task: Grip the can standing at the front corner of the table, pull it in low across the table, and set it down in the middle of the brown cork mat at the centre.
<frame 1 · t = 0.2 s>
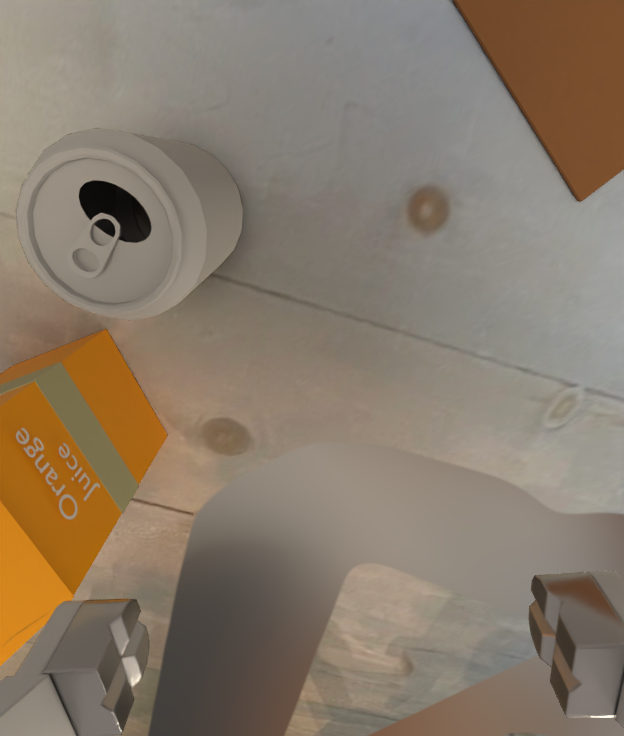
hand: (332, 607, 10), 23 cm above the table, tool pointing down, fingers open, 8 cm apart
can: (184, 210, 29), on the table
orange juice: (93, 400, 34), on the table
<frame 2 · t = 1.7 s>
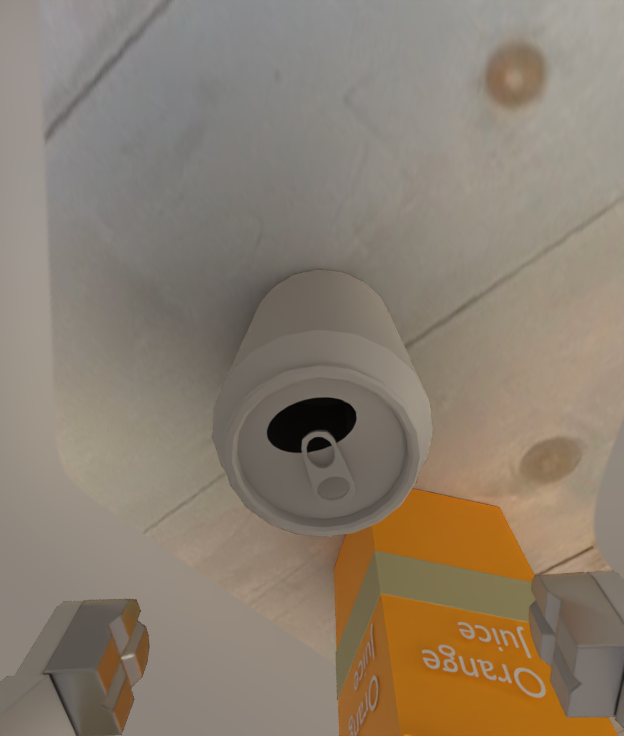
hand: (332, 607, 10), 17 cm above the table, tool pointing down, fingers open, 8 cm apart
can: (321, 334, 26), on the table
orange juice: (413, 536, 31), on the table
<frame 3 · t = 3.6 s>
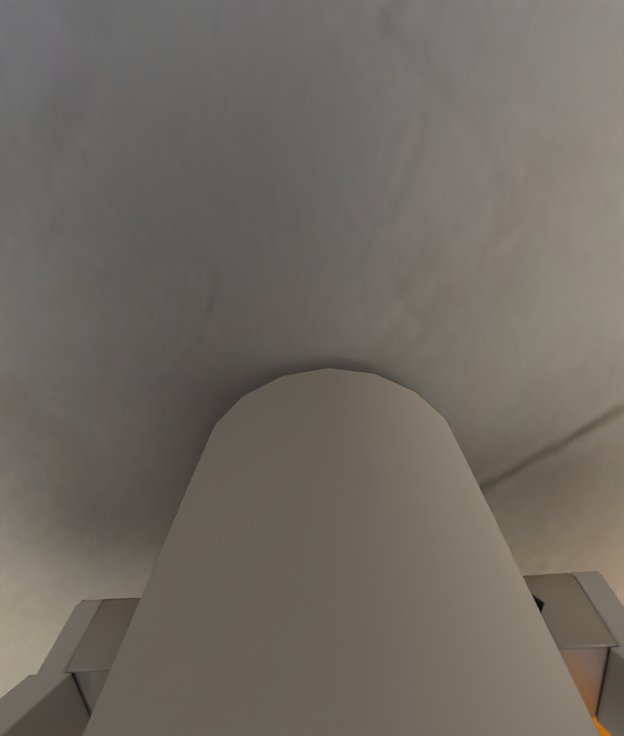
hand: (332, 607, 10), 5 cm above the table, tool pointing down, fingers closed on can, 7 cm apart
can: (330, 469, 15), on the table, touching gripper
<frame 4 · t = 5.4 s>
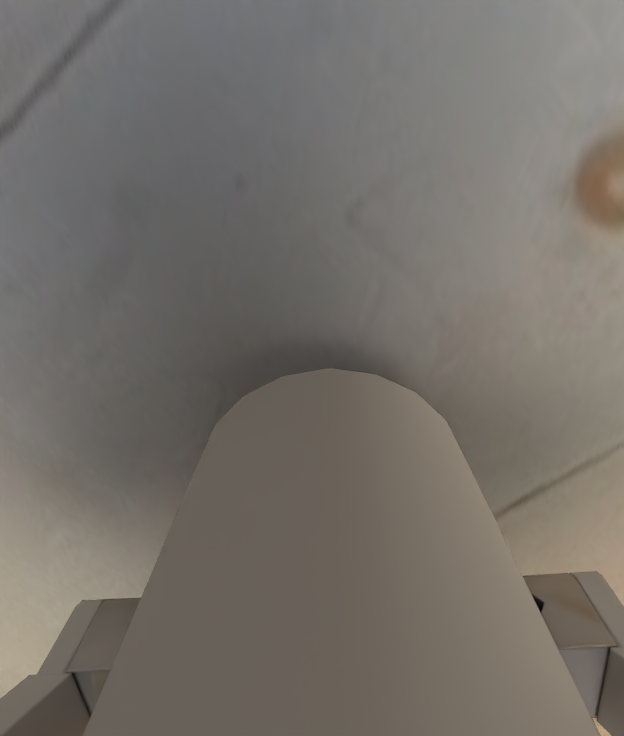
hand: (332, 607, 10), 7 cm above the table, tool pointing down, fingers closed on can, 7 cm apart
can: (330, 469, 15), point 2 cm above the table, touching gripper
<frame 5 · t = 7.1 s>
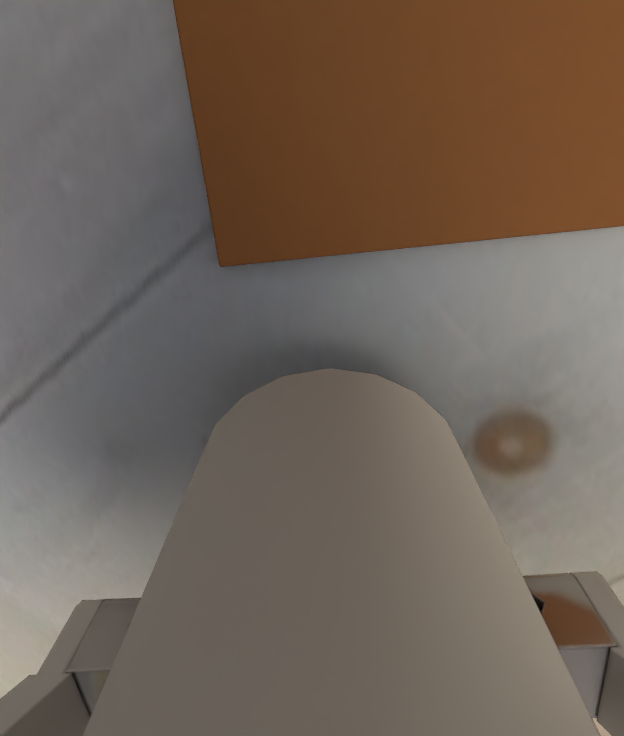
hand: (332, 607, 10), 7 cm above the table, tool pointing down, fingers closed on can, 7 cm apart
can: (330, 469, 15), point 2 cm above the table, touching gripper
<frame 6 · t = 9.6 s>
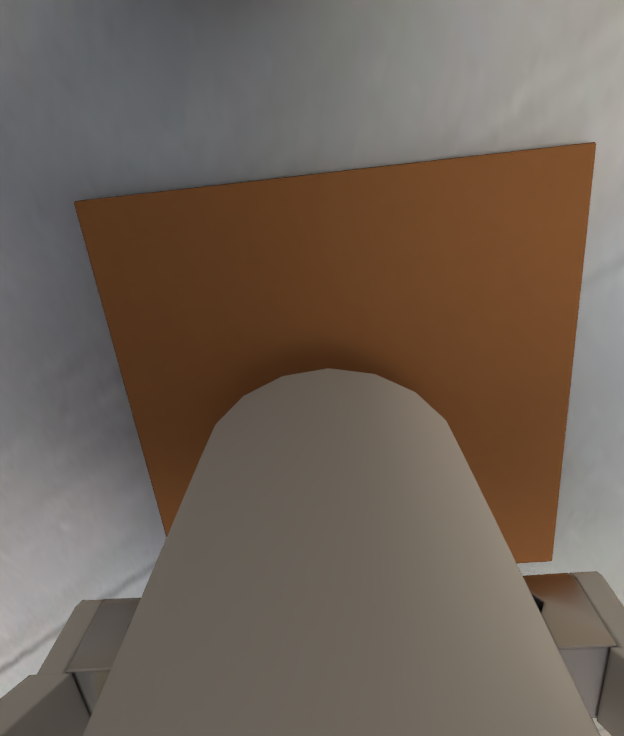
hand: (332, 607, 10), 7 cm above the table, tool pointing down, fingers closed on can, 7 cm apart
mat: (345, 401, 16), on the table
can: (330, 469, 15), point 2 cm above the table, touching gripper
when the fingers open (5 cm above the table, at t = 11.1 s): can stays where it is, resting on mat.
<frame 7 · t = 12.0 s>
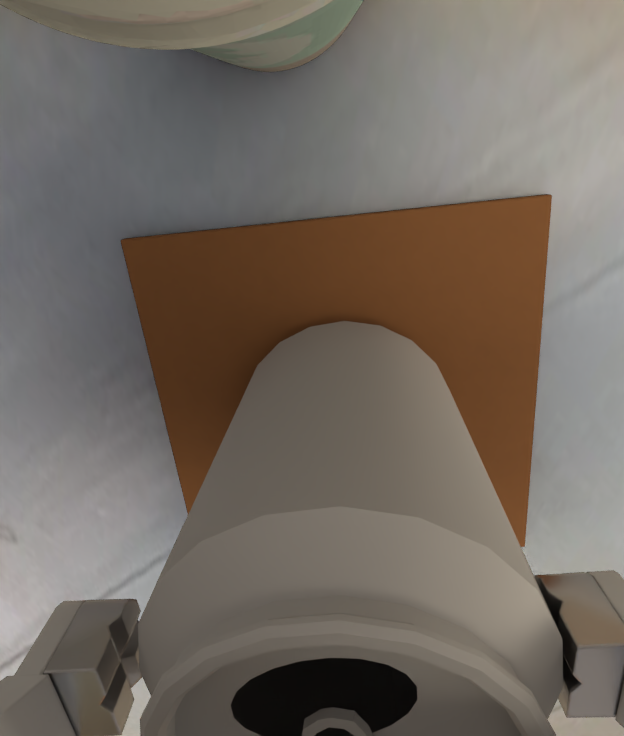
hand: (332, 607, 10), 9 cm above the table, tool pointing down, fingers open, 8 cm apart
mat: (345, 406, 19), on the table
can: (346, 407, 18), resting on mat, touching gripper
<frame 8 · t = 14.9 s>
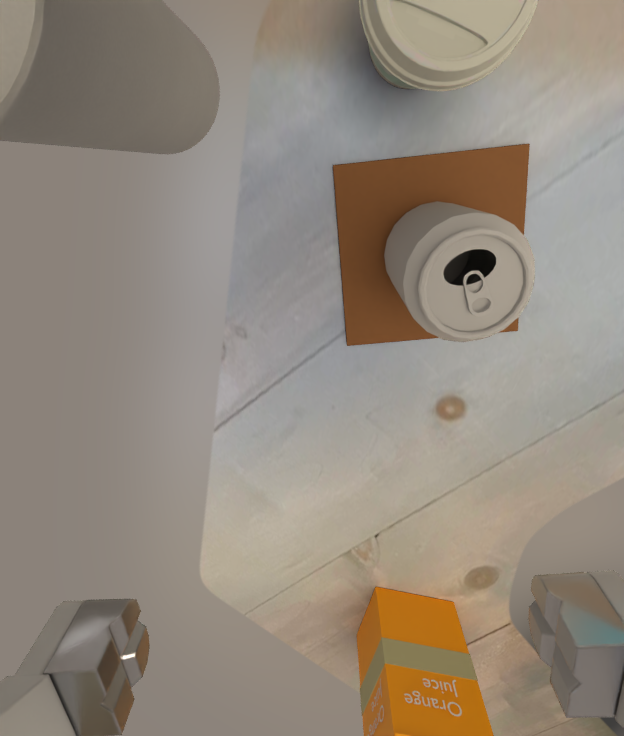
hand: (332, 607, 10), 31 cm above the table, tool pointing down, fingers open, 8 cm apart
mat: (429, 252, 38), on the table
can: (431, 251, 37), resting on mat
orange juice: (403, 617, 53), on the table
coffee cup: (411, 40, 33), on the table
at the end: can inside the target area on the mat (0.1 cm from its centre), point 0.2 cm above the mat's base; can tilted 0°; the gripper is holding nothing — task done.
